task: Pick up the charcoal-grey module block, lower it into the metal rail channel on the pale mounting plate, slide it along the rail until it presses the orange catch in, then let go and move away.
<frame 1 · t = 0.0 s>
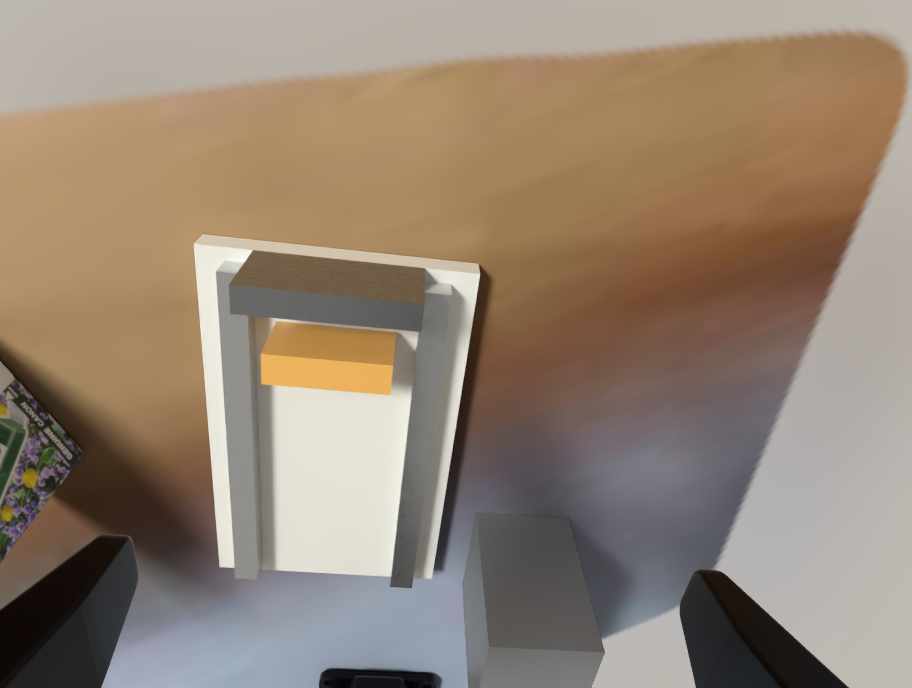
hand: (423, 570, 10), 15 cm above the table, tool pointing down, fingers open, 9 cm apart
module: (513, 552, 31), on the table
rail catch: (331, 357, 22), point 2 cm above the table, slide at 0.0 cm
rail plate: (336, 425, 26), on the table
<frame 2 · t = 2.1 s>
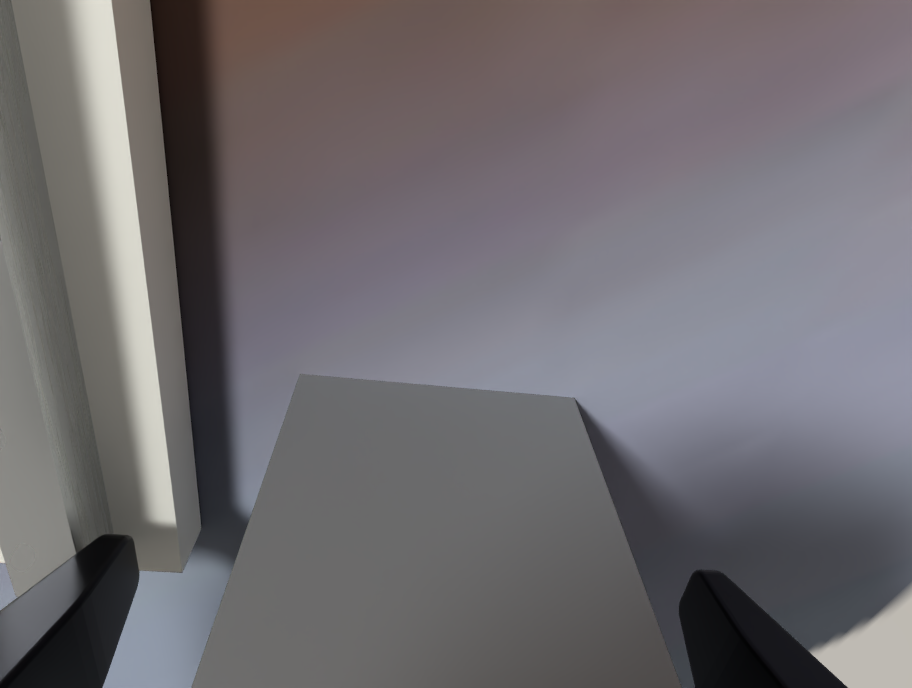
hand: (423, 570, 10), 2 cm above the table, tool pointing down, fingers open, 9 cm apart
module: (424, 500, 11), on the table
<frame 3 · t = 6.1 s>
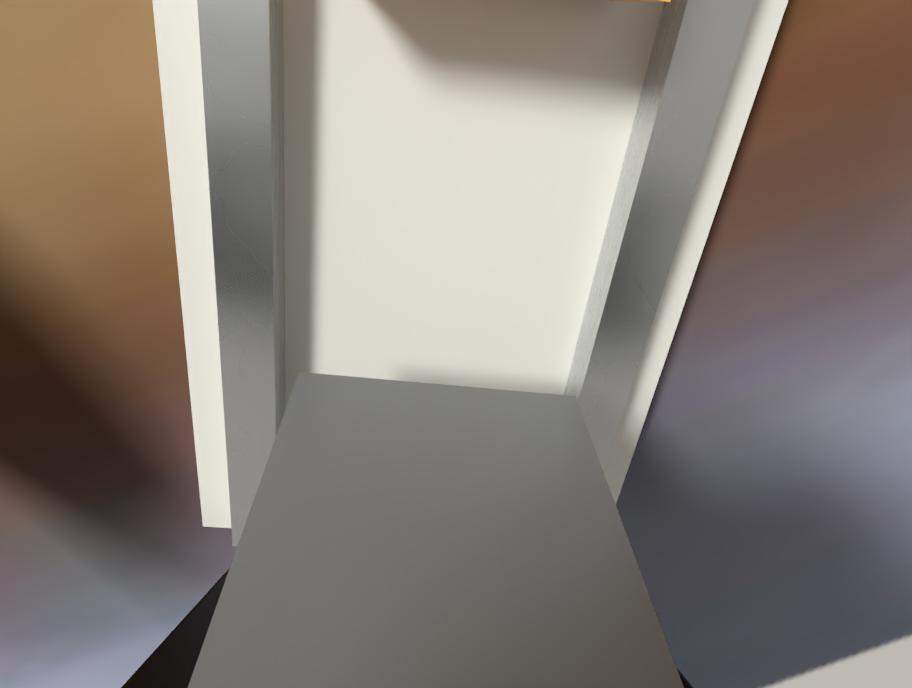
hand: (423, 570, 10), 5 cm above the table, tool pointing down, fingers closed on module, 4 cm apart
module: (424, 499, 11), point 4 cm above the table, touching gripper
rail plate: (444, 220, 12), on the table
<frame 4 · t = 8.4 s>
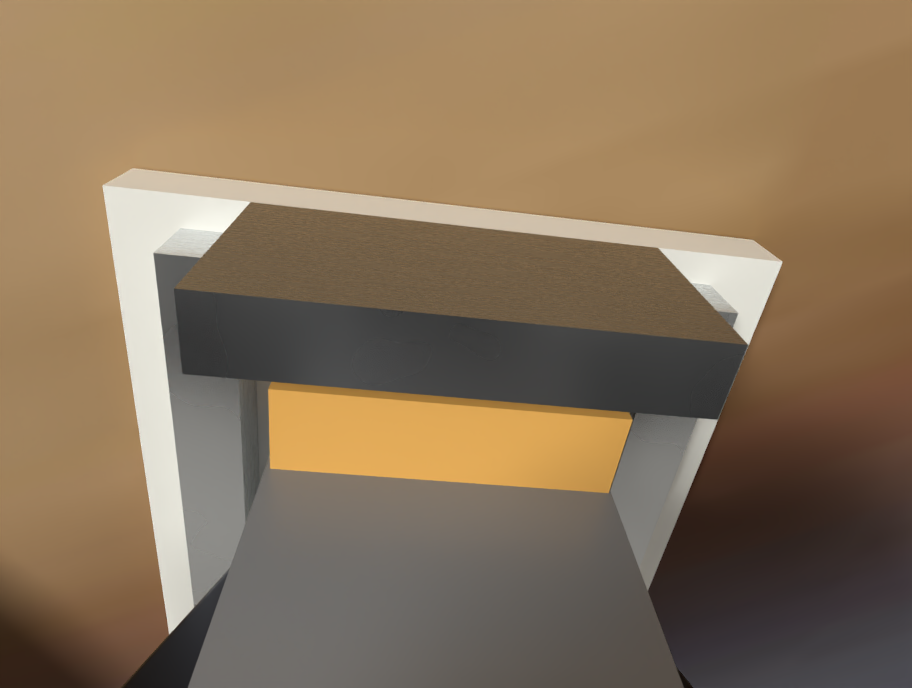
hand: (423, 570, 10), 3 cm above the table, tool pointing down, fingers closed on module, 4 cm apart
module: (423, 499, 11), point 1 cm above the table, touching gripper, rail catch
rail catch: (447, 391, 9), point 2 cm above the table, slide at 1.2 cm, touching module
rail plate: (411, 556, 14), on the table
when the fingers open (3 cm above the table, at t = 9.6 s): module stays where it is, resting on rail plate.
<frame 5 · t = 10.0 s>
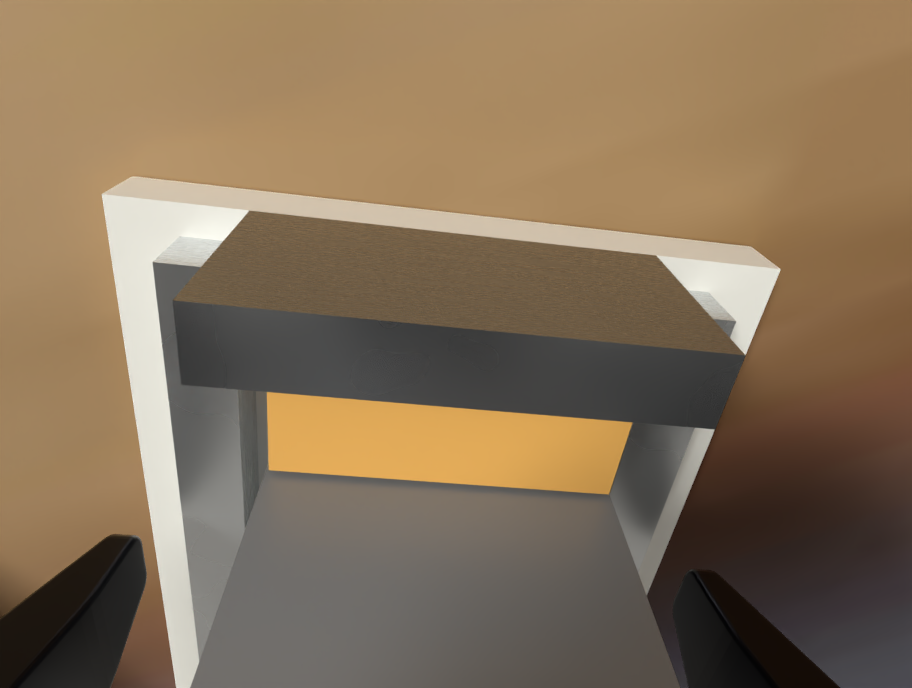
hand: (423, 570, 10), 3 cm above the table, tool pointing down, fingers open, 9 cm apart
module: (424, 492, 11), point 1 cm above the table, touching rail plate
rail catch: (446, 392, 9), point 2 cm above the table, slide at 1.3 cm
rail plate: (410, 561, 14), on the table
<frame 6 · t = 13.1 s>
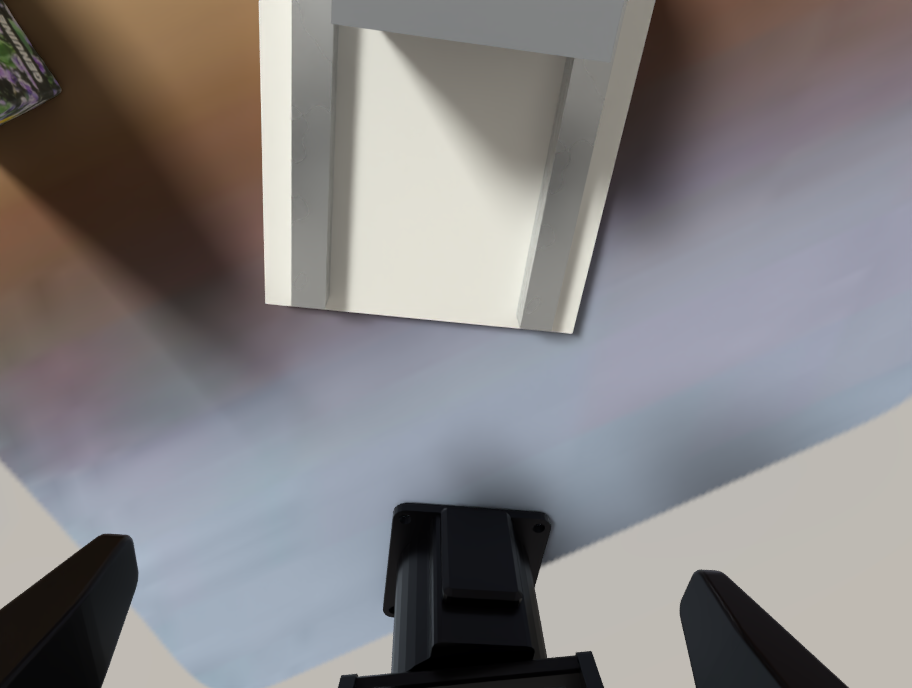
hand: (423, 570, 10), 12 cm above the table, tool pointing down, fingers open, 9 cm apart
rail plate: (452, 46, 17), on the table
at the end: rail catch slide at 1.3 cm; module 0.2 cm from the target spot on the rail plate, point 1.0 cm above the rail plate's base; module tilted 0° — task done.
